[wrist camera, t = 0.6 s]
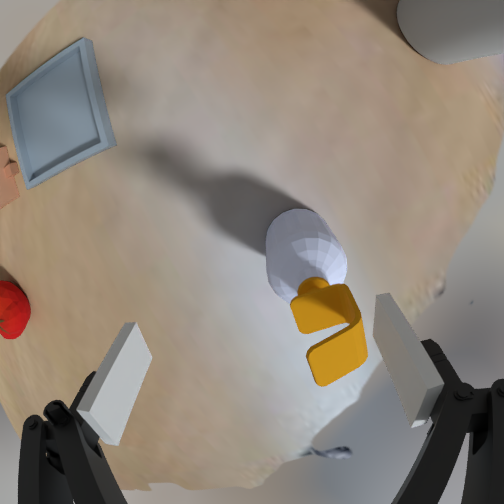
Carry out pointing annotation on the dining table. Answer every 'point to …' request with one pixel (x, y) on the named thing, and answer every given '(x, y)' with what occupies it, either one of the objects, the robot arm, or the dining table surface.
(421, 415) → the robot arm
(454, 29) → the cylinder vase
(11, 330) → the tomato
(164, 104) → the dining table surface
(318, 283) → the soap bottle
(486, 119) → the dining table surface
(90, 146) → the tray
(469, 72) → the dining table surface
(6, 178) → the ring frame
